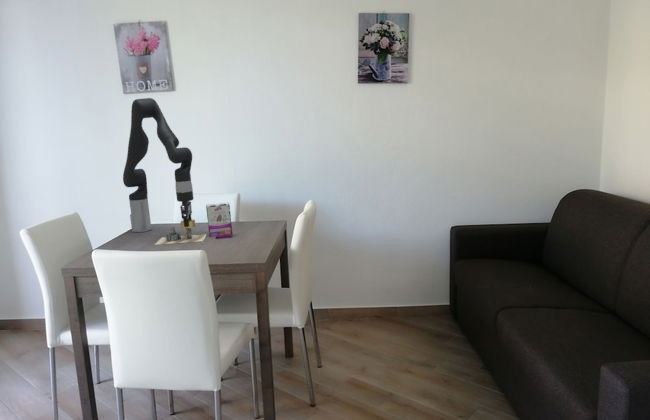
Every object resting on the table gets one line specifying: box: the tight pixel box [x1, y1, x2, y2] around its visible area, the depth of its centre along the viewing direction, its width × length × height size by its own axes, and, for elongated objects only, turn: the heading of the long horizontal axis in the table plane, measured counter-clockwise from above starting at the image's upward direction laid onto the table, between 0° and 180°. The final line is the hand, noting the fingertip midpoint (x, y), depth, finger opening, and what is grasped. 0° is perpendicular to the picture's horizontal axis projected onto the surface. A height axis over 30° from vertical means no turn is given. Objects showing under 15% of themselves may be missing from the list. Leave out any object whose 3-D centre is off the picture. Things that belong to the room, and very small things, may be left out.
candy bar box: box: [205, 202, 233, 239], centre depth 227 cm, size 11×5×16 cm, turn 105°
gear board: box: [154, 226, 208, 246], centre depth 222 cm, size 22×14×7 cm, turn 96°
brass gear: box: [180, 218, 196, 229], centre depth 222 cm, size 6×6×3 cm
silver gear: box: [165, 231, 182, 242], centre depth 222 cm, size 6×6×3 cm
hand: (188, 225), depth 222 cm, fingers closed on brass gear, 6 cm apart
